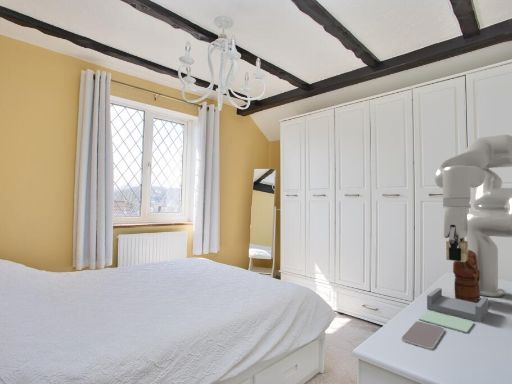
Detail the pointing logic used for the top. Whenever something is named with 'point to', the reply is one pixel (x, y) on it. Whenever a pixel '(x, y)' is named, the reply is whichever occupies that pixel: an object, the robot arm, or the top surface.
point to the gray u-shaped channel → (457, 306)
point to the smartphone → (423, 335)
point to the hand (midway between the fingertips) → (457, 258)
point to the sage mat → (447, 321)
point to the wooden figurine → (467, 279)
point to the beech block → (463, 250)
